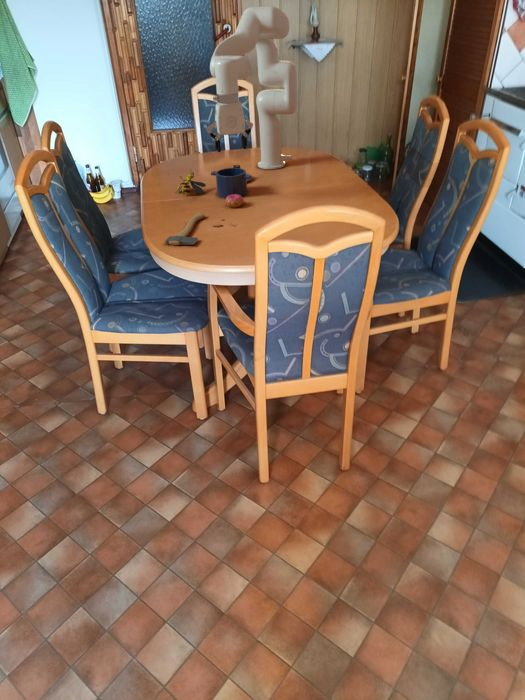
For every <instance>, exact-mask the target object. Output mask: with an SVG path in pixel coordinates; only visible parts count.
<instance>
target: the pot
mask: <svg viewBox="0 0 525 700" xmlns="http://www.w3.org/2000/svg"><path fill="white" fill-rule="evenodd" d="M246 174H247V171H246V169H245V168H241V167H240V168H233V167H226V168H220V169H219V170H213V171H211V172H210V175H211V176H214V177H215V181H216V192H217V196H218V197H220V198H222V199H226V197H227V196H229V195H232V194H237V195H241V197H245V196H246V195H248V182H247V179H251V178H252V179H253V175H252V174H249V175H246Z"/></svg>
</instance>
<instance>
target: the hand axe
mask: <svg viewBox="0 0 525 700" xmlns="http://www.w3.org/2000/svg"><path fill="white" fill-rule="evenodd" d="M204 218H205V214H204V213H202V212H196V214H194V215H193V216H192V217H191V218H190V219H188V221H187V223H186V225H185V227H184V228H183V229H182V230H181V231H179V232H177V233H176V234H174V236H173V235H170V236H168V238H166V239H165V244H166V245H170V246H189V245H190V246H191V245H195V244H196V243H197V242H198V240H199V237H193V236H189V234H190V233H191V232H192V230H193V229H194V226H195V224H196V223H197V222H198V221H199V220H202V219H204Z"/></svg>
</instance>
